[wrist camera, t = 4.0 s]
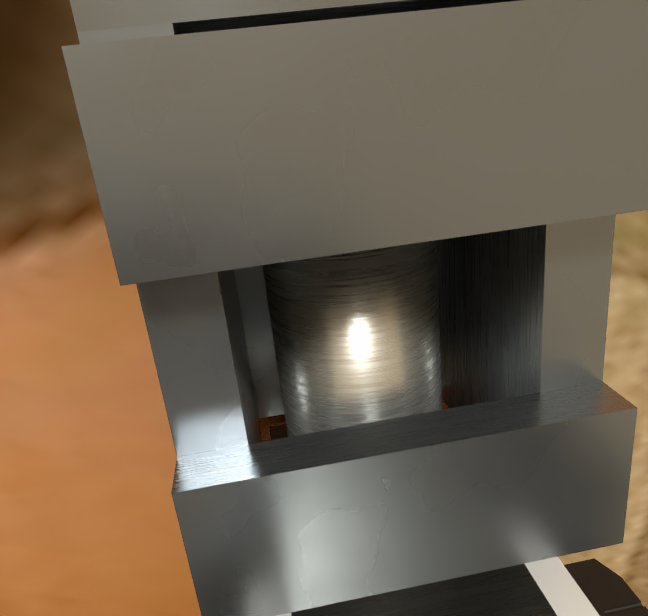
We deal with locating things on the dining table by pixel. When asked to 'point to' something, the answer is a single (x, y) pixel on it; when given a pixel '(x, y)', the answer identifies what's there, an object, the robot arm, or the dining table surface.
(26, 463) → the dining table surface
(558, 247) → the sleeve
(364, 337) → the sliding bolt
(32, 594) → the dining table surface
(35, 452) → the dining table surface
